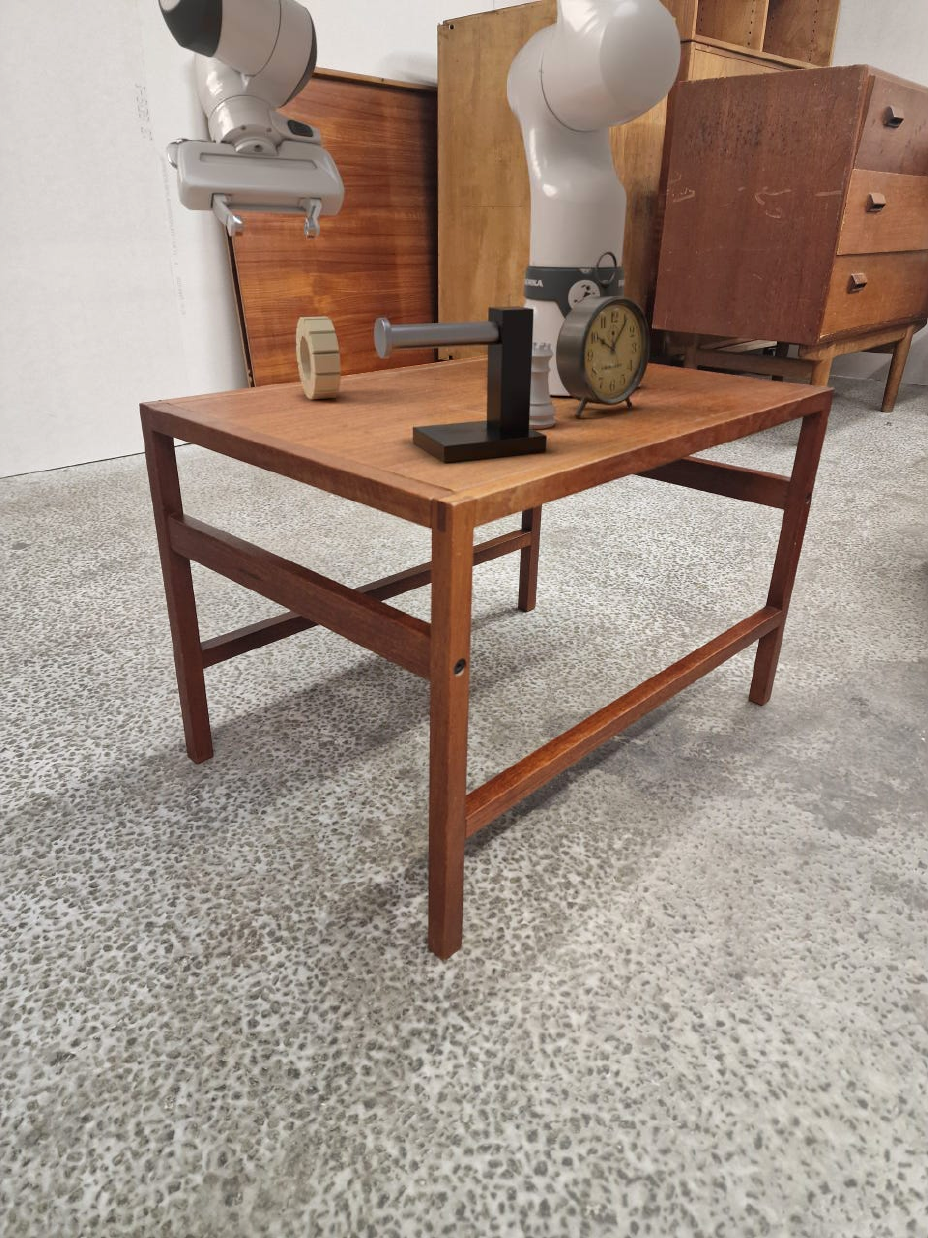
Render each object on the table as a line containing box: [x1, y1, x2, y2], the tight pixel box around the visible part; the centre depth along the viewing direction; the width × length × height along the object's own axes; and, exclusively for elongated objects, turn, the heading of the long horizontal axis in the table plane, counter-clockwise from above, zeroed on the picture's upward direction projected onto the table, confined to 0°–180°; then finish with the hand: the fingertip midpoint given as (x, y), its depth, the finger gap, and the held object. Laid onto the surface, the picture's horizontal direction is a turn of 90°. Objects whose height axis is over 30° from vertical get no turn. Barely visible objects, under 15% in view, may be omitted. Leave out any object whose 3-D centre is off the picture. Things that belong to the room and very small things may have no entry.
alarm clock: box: [556, 251, 651, 419], centre depth 85 cm, size 11×5×16 cm, turn 129°
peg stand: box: [373, 305, 548, 464], centre depth 71 cm, size 14×8×12 cm, turn 113°
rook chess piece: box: [529, 342, 557, 430], centre depth 81 cm, size 4×4×8 cm
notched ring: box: [295, 315, 342, 401], centre depth 94 cm, size 9×3×9 cm, turn 23°
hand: (276, 233), depth 98 cm, fingers open, 8 cm apart
